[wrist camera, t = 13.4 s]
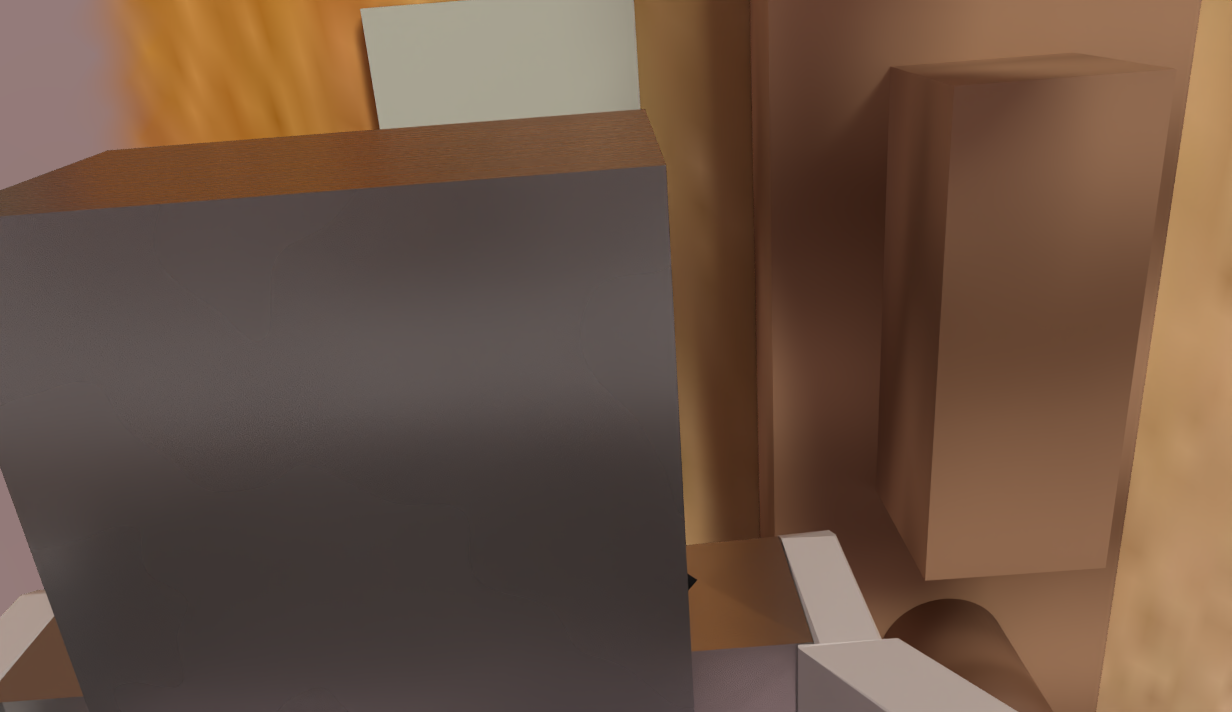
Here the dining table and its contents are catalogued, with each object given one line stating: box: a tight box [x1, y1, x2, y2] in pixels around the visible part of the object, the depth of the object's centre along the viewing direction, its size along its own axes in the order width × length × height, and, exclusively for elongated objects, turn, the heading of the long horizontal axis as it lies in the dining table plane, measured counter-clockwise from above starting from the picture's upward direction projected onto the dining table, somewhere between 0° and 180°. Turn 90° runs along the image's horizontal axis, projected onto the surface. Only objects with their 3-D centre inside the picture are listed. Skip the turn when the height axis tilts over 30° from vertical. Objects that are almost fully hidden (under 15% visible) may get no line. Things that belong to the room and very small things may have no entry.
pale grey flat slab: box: [360, 0, 640, 129], centre depth 19 cm, size 11×5×1 cm, turn 4°
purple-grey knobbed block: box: [0, 109, 695, 712], centre depth 8 cm, size 9×4×3 cm, turn 4°
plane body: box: [750, 0, 1202, 712], centre depth 15 cm, size 24×7×8 cm, turn 4°
